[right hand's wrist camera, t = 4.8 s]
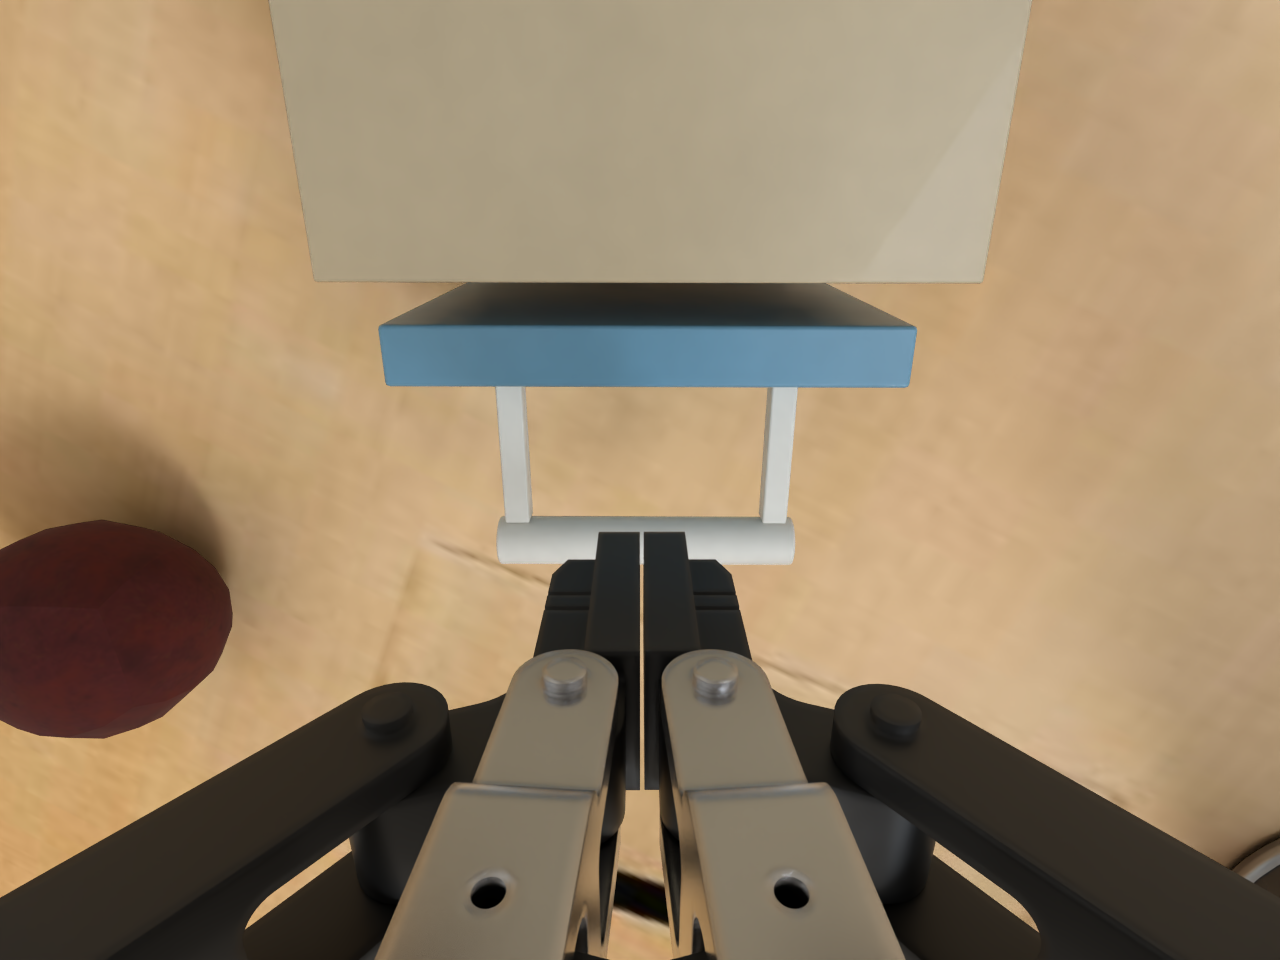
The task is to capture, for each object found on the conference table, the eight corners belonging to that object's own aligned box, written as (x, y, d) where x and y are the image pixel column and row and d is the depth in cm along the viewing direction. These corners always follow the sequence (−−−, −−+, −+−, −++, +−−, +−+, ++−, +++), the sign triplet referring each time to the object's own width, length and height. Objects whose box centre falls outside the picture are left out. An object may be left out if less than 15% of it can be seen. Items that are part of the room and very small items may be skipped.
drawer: (792, 465, 25) (876, 618, 16) (498, 464, 25) (415, 616, 16) (853, -233, 18) (1065, -667, 9) (444, -233, 18) (242, -665, 9)
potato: (30, 498, 26) (-175, 598, 20) (235, 479, 26) (96, 575, 19) (105, 664, 29) (-53, 801, 22) (291, 649, 28) (186, 783, 22)
